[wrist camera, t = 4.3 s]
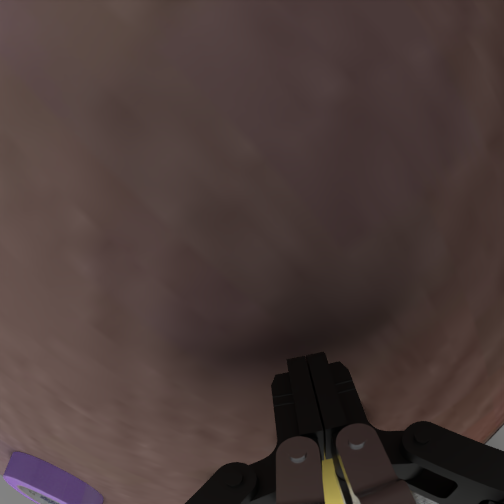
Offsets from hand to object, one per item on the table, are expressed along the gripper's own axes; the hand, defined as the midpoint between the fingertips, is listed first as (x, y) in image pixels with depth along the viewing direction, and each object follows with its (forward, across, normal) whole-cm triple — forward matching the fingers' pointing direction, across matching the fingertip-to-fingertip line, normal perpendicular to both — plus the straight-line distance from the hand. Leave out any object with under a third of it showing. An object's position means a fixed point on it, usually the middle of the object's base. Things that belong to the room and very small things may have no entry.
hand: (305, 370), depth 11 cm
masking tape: (+2, +28, +18) cm, 33 cm away
